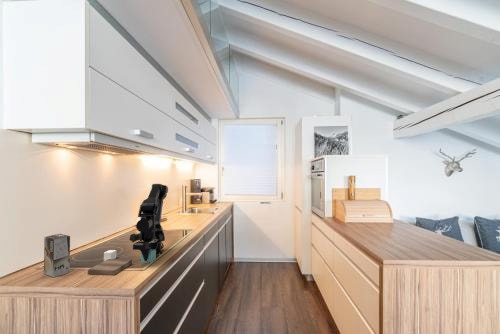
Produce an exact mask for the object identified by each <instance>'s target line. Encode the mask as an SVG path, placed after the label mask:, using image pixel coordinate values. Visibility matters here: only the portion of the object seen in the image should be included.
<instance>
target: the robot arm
mask: <svg viewBox="0 0 500 334" xmlns="http://www.w3.org/2000/svg"><path fill="white" fill-rule="evenodd" d="M168 193H169V187H168V185H164V184H161V183H152V184H151V188H150V192H149V194H148V196H147V198H146V199H144V200H143V201H142V203H141V204H140V206H139V210H138V213H137V218H140V219H139V220H138V221H137V222H136V225H135V228H136V231H138V232H139V233H132V234H130V235H129V241H130V242H132V250H133V251H134V250H135V251H137V250H138V251H140V253H141V252H142V255H143V258H144V260H145V261H147V259H148V256H149V253H150V249H156V255H159V254H160V253H162V252H163V251H164V249H162V242H165V241H166V236H165V232H164V230H163V227H162V225H161V220H162V211H163V204H164V200H165V199H166V198H167V194H168Z"/></svg>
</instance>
